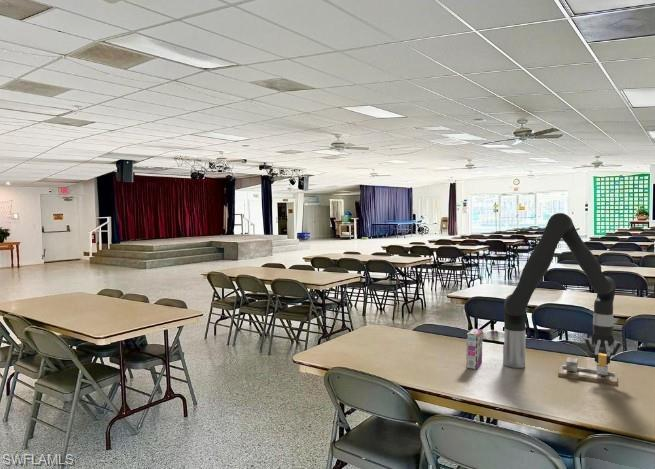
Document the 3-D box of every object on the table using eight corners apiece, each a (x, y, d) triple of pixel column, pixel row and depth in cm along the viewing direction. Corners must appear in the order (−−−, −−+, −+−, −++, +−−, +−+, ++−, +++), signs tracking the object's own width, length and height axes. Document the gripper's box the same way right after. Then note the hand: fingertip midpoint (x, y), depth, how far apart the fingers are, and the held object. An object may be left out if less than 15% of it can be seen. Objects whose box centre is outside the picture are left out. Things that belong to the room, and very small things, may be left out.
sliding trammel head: (596, 375, 200) (596, 355, 200) (596, 371, 206) (597, 351, 205) (607, 377, 198) (607, 357, 198) (607, 372, 204) (607, 352, 203)
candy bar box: (477, 370, 214) (477, 334, 213) (466, 368, 217) (466, 333, 216) (482, 363, 224) (483, 329, 223) (472, 361, 226) (472, 328, 226)
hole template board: (558, 376, 206) (558, 361, 205) (560, 369, 214) (560, 355, 214) (617, 385, 195) (617, 369, 194) (616, 377, 203) (617, 363, 203)
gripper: (622, 323, 200) (621, 363, 201) (584, 320, 207) (583, 358, 208) (622, 327, 194) (621, 368, 195) (583, 323, 201) (583, 363, 202)
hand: (602, 363), depth 201 cm, fingers closed on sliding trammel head, 3 cm apart
